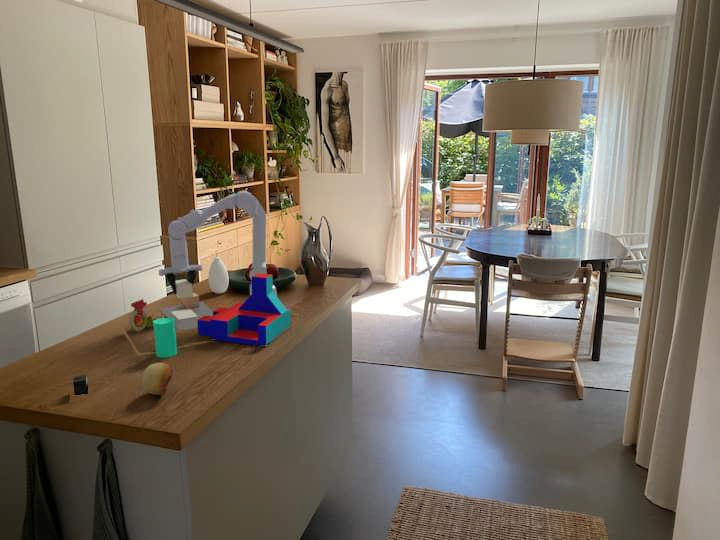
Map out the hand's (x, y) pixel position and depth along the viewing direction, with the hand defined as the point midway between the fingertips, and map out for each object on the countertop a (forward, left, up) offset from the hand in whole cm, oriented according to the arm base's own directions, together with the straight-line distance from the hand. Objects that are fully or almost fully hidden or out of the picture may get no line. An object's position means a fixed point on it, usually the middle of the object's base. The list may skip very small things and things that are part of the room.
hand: (182, 292), depth 198 cm
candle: (+14, +34, -9) cm, 37 cm away
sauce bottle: (-20, -22, -9) cm, 32 cm away
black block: (+38, +49, -10) cm, 63 cm away
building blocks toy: (-12, +29, -9) cm, 32 cm away
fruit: (+22, +61, -9) cm, 65 cm away
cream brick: (0, 0, -1) cm, 1 cm away
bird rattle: (+16, +8, -9) cm, 20 cm away
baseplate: (-2, +2, -9) cm, 9 cm away
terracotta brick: (-5, -9, -8) cm, 13 cm away
